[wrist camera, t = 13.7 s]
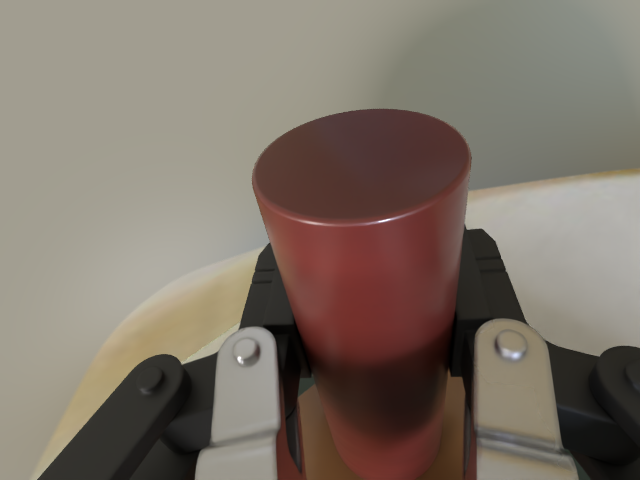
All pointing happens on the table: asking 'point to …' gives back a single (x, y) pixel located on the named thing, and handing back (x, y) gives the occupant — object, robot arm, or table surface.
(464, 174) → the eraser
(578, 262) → the table surface
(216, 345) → the white rectangular block
